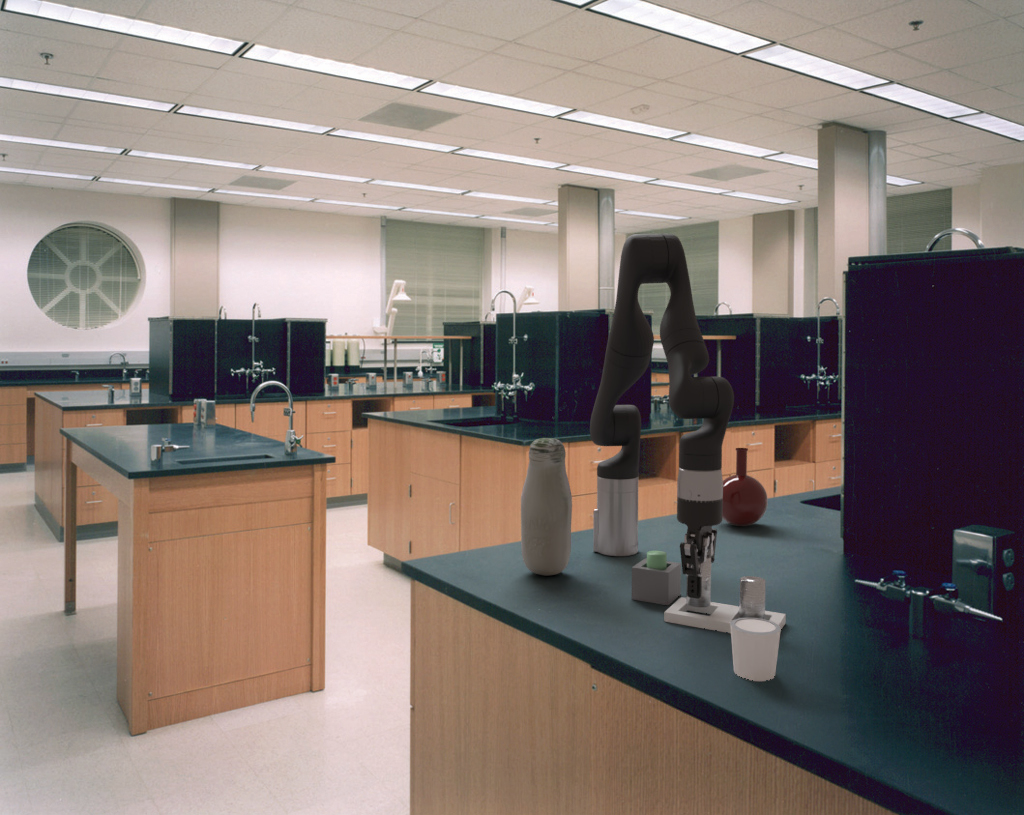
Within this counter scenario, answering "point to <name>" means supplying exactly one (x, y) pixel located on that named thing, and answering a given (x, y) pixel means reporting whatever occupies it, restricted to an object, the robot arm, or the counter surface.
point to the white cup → (755, 648)
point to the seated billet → (752, 597)
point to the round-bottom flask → (743, 495)
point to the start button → (657, 560)
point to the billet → (703, 586)
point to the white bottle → (546, 509)
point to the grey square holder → (656, 583)
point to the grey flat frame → (712, 615)
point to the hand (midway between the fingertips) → (698, 593)
